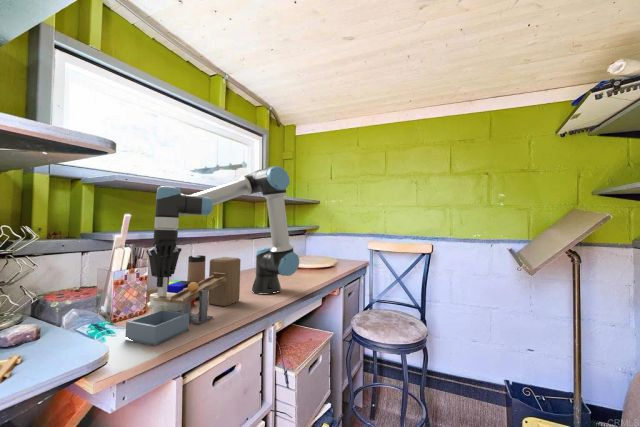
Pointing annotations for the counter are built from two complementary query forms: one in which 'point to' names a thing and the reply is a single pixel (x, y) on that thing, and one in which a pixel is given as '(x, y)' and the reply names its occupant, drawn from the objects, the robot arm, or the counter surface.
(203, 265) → the travel mug
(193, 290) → the ball
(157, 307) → the pipe fitting
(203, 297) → the stand
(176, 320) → the tray
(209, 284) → the lever
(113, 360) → the counter surface
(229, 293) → the block
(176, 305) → the puzzle toy
